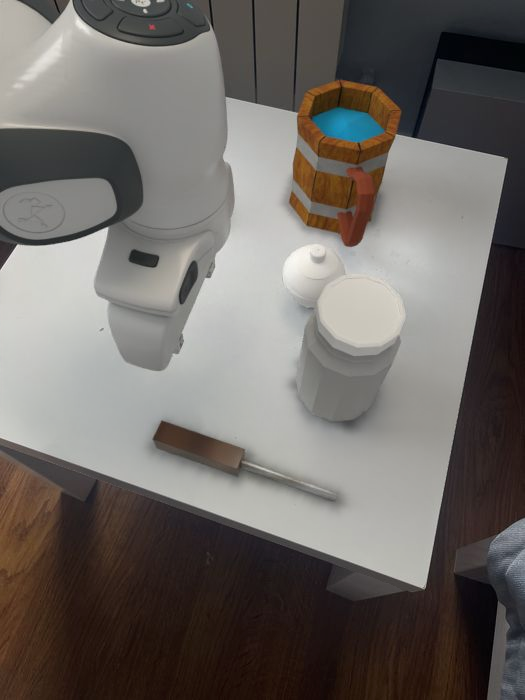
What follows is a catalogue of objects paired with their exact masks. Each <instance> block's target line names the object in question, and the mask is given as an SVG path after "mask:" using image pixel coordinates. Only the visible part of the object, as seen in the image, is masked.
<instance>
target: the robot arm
mask: <svg viewBox="0 0 525 700" xmlns="http://www.w3.org/2000/svg"><path fill="white" fill-rule="evenodd" d="M225 86H226V85H225V78H224V70H223V63H222V58H221V53H220V47H219V44H218V40H217V36H216V34H215V32H214V29H213V26H212V25H211V23H210V21H209V19H208V17H207V16H206V14H205V13H204V12H203V10H202V9H201V8H200V7H199V6H198V5H197V4H196V3H195V1H194V0H69V1H68V3H67V5H66V6H65V9H64V10H63V12H61V13H60V12H59V11H58V10H57V9H56V8H55V7H54V6H53V5H52V4H51V3H50V2H49V1H48V0H0V241H1V242H4V243H8V244H13V245H19V246H24V247H25V246H27V247H40V246H41V247H42V246H43V247H44V246H51V245H57V244H63V243H68V242H73V241H76V240H79V239H83V238H85V237H88V236H89V235H93V234H95V233H97V232H100V231H102V230H105V229H106V228H107V234H106V238H105V241H104V246H103V250H102V253H101V257H100V260H99V262H98V265H97V269H96V271H95V274H94V277H93V289H94V292H95V294H96V295H97V297H98V298H100V299H101V300H102V299H103V300H105V301H107V309H106V312H107V314H106V315H107V323H108V326H109V329H110V332H111V335H112V338H113V340H114V343H115V346H116V348H117V350H118V352H119V355H120V357H121V358H122V359H123V361H125V363H127V364H130V365H131V366H135V367H137V368H141V369H144V370H147V371H148V370H149V371H152V372H162V371H165V370H166V369H167V368H168V366H169V365H170V362H171V360H172V358H173V354H174V355H179V354H180V353H181V350H182V348H183V345H184V342H185V339H184V334H183V331H184V329H185V327H186V325H187V322H188V320H189V317H190V315H191V313H192V310H193V308H194V305H195V303H196V301H197V299H198V296H199V293H200V292H201V289H202V286H203V285H204V282H205V279H211V278H212V276H213V274H214V271H215V269H216V255H217V254H218V252H220V251H221V250H222V248H223V247H224V245H225V244H226V242H228V239H229V237H230V233H231V228H232V226H231V225H232V223H231V221H232V220H231V219H232V216H233V214H234V209H235V203H236V202H235V201H236V196H235V183H234V174H233V170H232V166H231V164H230V163H229V162H228V161H227V162H226V161H225V160H224V154H225V151H226V148H227V145H228V136H229V134H228V133H229V132H228V131H229V128H228V112H227V111H228V110H227V98H226V97H227V96H226V87H225Z"/></svg>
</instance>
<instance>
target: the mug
mask: <svg viewBox="0 0 525 700" xmlns="http://www.w3.org/2000/svg"><path fill="white" fill-rule="evenodd" d="M300 104H301V105H300V108H299V110H298V113H297V115H296V126H297V127H296V128H297V135H296V144H295V145H296V146H295V152H294V156H293V162H292V186H291V193H290V196H289V200H288V203H289V205H290V206H291V207H292V209H293V210H294V211H295V213H296V214H297V215H298V217H299V218H300V219H301V221H302V222H303V223H304V224H305V225H306V227H309V228H310V227H311V228H314V229H319V230H323V231H327V232H332V233H336V234H340V240H341V241H342V243H343V245H344V246H345V247H347V248H352V247H357V246H358V245H359V244H360V243H362V240H363V239H364V235H365V233H366V230H367V226H368V223H369V222H371V221H372V218H373V213H374V208H375V205H376V200H377V195H378V192H379V190H380V188H381V186H382V183H383V179H384V175H385V170H386V166H387V162H388V157H389V152H390V150H391V148H392V146H393V144H394V141H395V139H396V136H397V131H398V127H399V124H400V119H401V114H402V109H401V108H400V107H399V105H397V104H396V103H394V101H393V100H392V99H390V97H389V96H388V95H387V94H385V92H384V91H383V90H382V89H380V87H378V86H374V85H369V84H364V83H359V82H355V81H354V82H353V81H348V80H343V79H337V80H334V81H331V82H329V83H326V84H323V85H320V86H317V87H315V88H312V89H308V90H306V91H305V94H304V96H303V99H302V101H301V103H300Z"/></svg>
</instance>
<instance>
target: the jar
mask: <svg viewBox="0 0 525 700" xmlns="http://www.w3.org/2000/svg"><path fill="white" fill-rule="evenodd" d="M406 318H407V314H406V309H405V305H404V301H403V298H402V296H401V295H400V294H399V293H398V292H397V290H396V289H394V288H393V287H392V286H391V284H390V283H389V282H387V280H384V279H381V278H378V277H375V276H373V275H370V274H368V273H351V274H348V273H347V274H345V275H342V276H340V277H339V278H337V279H335V280H333V281H332V282H330V283H328V284H327V285H326V286H325V288H324V290H323V292H322V294H321V295H320V297H319V299H318V301H317V306H316V307H313V310H312V311H311V314H310V316H309V318H308V320H307V321H306V324H305V326H304V331H303V332H304V333H303V337H302V341H301V347H300V351H299V352H300V353H299V358H298V364H297V368H296V374H295V381H296V390H297V397H298V398H299V400H301V402H302V403H303V404H304V406H305V407H306V408H307V410H308V411H309V412H310V413H311V414H313V415H315V416H317V417H320V418H322V419H324V420H327V421H329V422H343V421H353V420H354V419H356V418H358V417H359V416H361V415H363V413H364V412H365V413H366V411H367V410H369V409H370V408H371V406H372V404H373V402H374V400H375V398H376V396H377V394H378V392H379V390H380V388H381V386H382V385H383V383H384V381H385V379H386V377H387V375H388V374H389V372H390V369H391V367H392V365H393V364H394V361H395V359H396V356H397V353H398V351H399V349H400V347H401V344H402V339H401V336H400V334H401V331H402V328H403V326H404V324H405V321H406Z"/></svg>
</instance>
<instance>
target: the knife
mask: <svg viewBox="0 0 525 700" xmlns="http://www.w3.org/2000/svg"><path fill="white" fill-rule="evenodd" d="M152 441H153V443H154V445H155V447H156V449H159V450H161V451H164V452H167V453H170V454H172V455H175V456H178V457H181V458H184V459H186V460H190V461H193V462H196V463H199V464H200V465H204V466H207V467H209V468H213V469H215V470H217V471H221V472H223V473H227V474H229V475H231V476H235V477H239V475H240V472H241V470H242V469H243V470H245V471H248V472H251V473H253V474H257V475H259V476H262V477H265V478H267V479H271V480H273V481H276V482H279V483H282V484H285V485H288V486H291V487H294V488H296V489H298V490H301V491H304V492H308V493H310V494H313V495H316V496H318V497H322V498H325V499H327V500H331V501H333V502H334V501H336V499H337V498H338V492H334V491H331V490H329V489H325V488H323V487H320V486H317V485H314V484H311V483H309V482H306V481H303V480H300V479H297V478H294V477H292V476H288V475H285V474H284V473H283V474H282V473H280V472H276V471H274V470H271V469H269V468H267V467H263V466H260V465H257V464H255V463H252V462H248V461H246V460H245V459H246V449H245V448H243V447H240V446H237V445H234V444H231V443H229V442H225V441H223V440H220V439H217V438H214V437H211V436H209V435H205V434H203V433H201V432H198V431H194V430H191V429H188V428H185V427H182V426H179V425H177V424H175V423H171V422H168V421H165V420H162V419H161V420H160V422H159V424H158V426H157V429H156V431H155V433H154V435H153V437H152Z"/></svg>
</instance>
